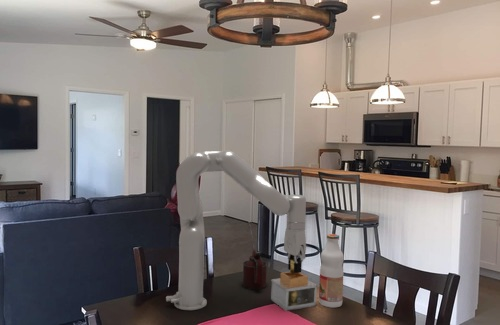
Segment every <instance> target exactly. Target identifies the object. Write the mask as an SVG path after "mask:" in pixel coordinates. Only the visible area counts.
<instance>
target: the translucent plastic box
mask: <svg viewBox="0 0 500 325" xmlns="http://www.w3.org/2000/svg"><path fill="white" fill-rule="evenodd" d="M270 281H271V284H270V286H271V287H270V300H271V301H272V302H273V303H275V304H276V305H277V306H278V305H279V308H281V309H282V308H283V310H284V312H289V311H293V310H294V311H295V310H299V309H305V308H313V307H316V306H317V292H318V291H317V290H318V289H317V287H318V284H316V283H315V282H313V281H311V280H309V276H307V275H306V274H303V272H299V273H296V274H295V273H291V272H290V271H285V272H280V277H279V278H273V279H272V278H271V280H270ZM295 290H298V297H297V302H296V303H291V302H289V301H288V298H289V291H295Z"/></svg>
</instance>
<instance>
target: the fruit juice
mask: <svg viewBox="0 0 500 325" xmlns="http://www.w3.org/2000/svg"><path fill="white" fill-rule="evenodd" d="M326 239H327V242H326V245H325V247H324V249H323V250H322V251H321V253H320V260H321V264H320V268H319V283H318V284H319V289H318V302H319V304H320V305H321V306H323V307H326V308H332V309H333V308H340V307H341V306H342V305H343V297H344V295H343V294H344V266H343V263H344V260H345V258H344V257H345V256H344V252H342V250H341V248H340V243H339V240H340V235H339V234H336V233H328V234H326Z"/></svg>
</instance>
